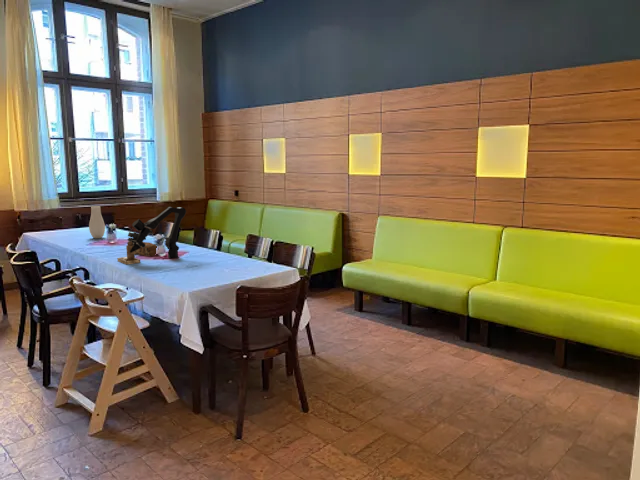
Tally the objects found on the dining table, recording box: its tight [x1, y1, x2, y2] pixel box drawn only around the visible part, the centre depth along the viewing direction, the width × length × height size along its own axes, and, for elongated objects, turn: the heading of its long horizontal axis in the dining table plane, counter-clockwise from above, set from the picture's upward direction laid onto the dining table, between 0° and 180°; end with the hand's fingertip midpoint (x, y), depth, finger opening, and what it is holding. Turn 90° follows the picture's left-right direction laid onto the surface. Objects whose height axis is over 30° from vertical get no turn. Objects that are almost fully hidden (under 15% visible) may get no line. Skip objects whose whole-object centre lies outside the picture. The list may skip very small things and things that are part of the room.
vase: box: [88, 205, 106, 239], centre depth 457 cm, size 14×14×30 cm
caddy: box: [117, 256, 141, 266], centre depth 351 cm, size 10×16×3 cm, turn 43°
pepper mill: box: [125, 240, 136, 261], centre depth 347 cm, size 5×5×14 cm
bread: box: [134, 241, 158, 257], centre depth 381 cm, size 19×11×10 cm, turn 59°
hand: (128, 251), depth 346 cm, fingers closed on pepper mill, 5 cm apart
